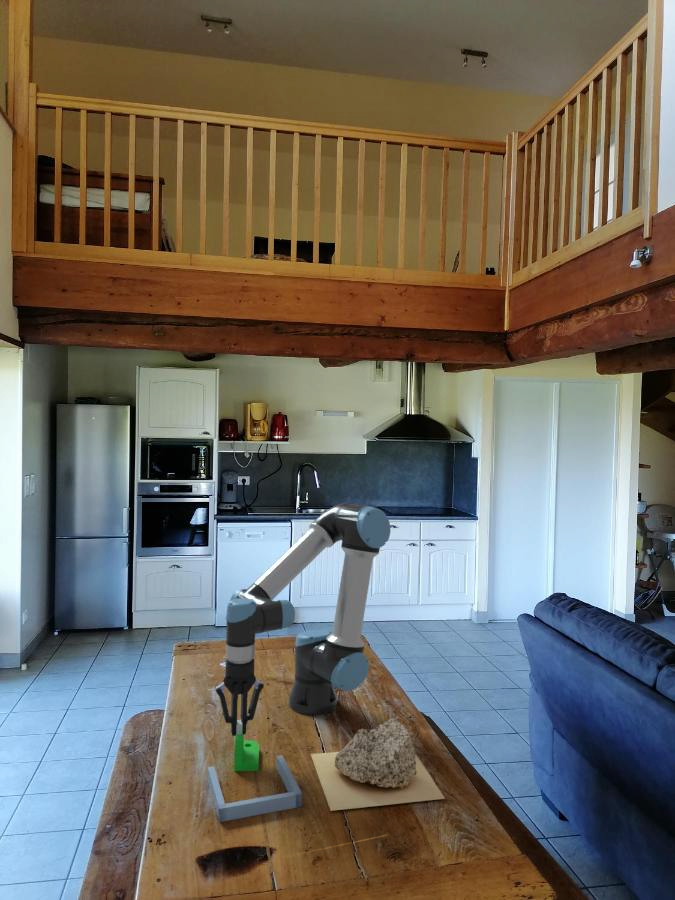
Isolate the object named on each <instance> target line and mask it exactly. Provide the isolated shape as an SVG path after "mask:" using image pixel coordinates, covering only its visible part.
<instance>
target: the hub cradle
mask: <svg viewBox="0 0 675 900" xmlns="http://www.w3.org/2000/svg"><path fill="white" fill-rule="evenodd" d="M275 768H276V769H277V772H278V774H279V776H280V779H281V780H282V782H283V784H284V786H285V788H286V791H287V792H283V793H279V794H278V793H277V794H272V795H267V796H266V795H265V796H260V797H255V798H250V799H244V800H239V801H233V802H228V803H227V802H225V799H224V795H223V792H222V789H221V785H220V783H219V779H218V775H217V772H216V768H215V766H214V765H213V766H208V767H207V781H208V782H207V783H208V785H209V789H210V794H211V796H212V800H213V803H214V808H215V812H216V815H217V818H218V822H219V823H221V822H223V823H224V822H227V821H234V820H238V819H244V818H249V817H253V816H254V817H255V816H260V815H264V814H270V813H275V812H280V811H285V810H292V809H296V808H301V807H303V793H302V790H301V789H300V786H299V785H298V783H297V781H296V780H295V778H294V775H293V772H291V770H290V768H289V766H288V764H287V762H286V760H285V758H284V756H283V755H277V756H276V767H275Z"/></svg>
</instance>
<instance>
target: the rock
mask: <svg viewBox="0 0 675 900" xmlns="http://www.w3.org/2000/svg"><path fill="white" fill-rule="evenodd" d="M310 756H311V758H312V763H313V765H314V767H315V770H316V773H317V776H318V779H319V782H320V784H321V788H322V790H323V794H324V797H325V798H326V801H327V805H328V807H329V810H330V812H332V811H334V812H335V811H340V810H341V811H342V810H344V811H345V810H350V809H351V810H352V809H360V808H368V807H379V806H381V807H382V806H389V805H398V804H406V803H407V804H408V803H414V802H415V803H416V802H419V803H420V802H425V801H426V802H427V801H433V800H434V801H435V800H445V799H446V797H445V796H444V795H443V793H442V791H441V790H440V788H439V787H438V785H436V781H434V780H433V778H432V776H431V775H430V773H429V771H428V770H427V769H426V767H425V766H424V764H423V762H422V761H421V760H420V757H419V756H418V754H417V753H416V748H415V746H414V743H413V740H412V738H411V735H410V733H409V730H408V729H407V727H406V726H405V725H404V724H402V723H400V722H399V721H398V720H397V719H395V718H390V719H388V720H385V721H383V722H382V723H381V724H379V725H377V727H375V728H370V729H369V728H361V729H358V730H357V732H356V733H355V734H354V736H353V738H351V740H350V741H349V742H347V744H346V745H345V746H343V747H342V748H341V749H340V750H339V751H333V752H322V753H310Z"/></svg>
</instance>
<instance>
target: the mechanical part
mask: <svg viewBox="0 0 675 900" xmlns="http://www.w3.org/2000/svg"><path fill="white" fill-rule="evenodd" d="M244 735H245V734H238V735H235V736H234V766H233V768H234V769H233V771H234V772H256V771H259V764H260V763H259V762H260V760H259V759H260V744H259V743H258V742H257V741H255V740H245V739H244V738H245V736H244Z"/></svg>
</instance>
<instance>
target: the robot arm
mask: <svg viewBox="0 0 675 900" xmlns="http://www.w3.org/2000/svg"><path fill="white" fill-rule="evenodd" d="M390 536H391V524H390V520H389V518H388V517H387V515H386V513H385V512H384V511H383V510H381V509H379V508H377V507H373V506H370V505H369V506H368V505H367V506H366V505H360V504H355V503H349V502H344V503H343V502H342V503H338V504H336V505H334V506H332V507H330V508H328V509H327V510H326V511H324V512H322V513H321V514H320V515H318V516H317V517H316V518H315V520H313V521H312V522H311V523H310V524H309V525H308V530H307V532H305V533H304V534H303V535H302V536H301V537H300V538H299V539H298V540H297V541H296V542H295V543H294V544H292V546H291V547H290V548H288V550H287V551H285V552H284V553H283V554H282V556H280V557H279V558H278V559H277V560H276V561H275V562H274V563H273V564H272V565H271V566H270V567H269V568H268V569H266V571H264V572H263V574H261V575H260V576H259V577H258V578H257V579H256V580H255V581H254V582H253V583H252V584H251V585H250V586H248V588H247V589H246V588H241V589H237V590H236V591H234V592H233V593H232V595H231V597H230V599H229V602H228V603H227V608H226V616H225V620H226V632H225V635H226V636H225V638H226V641H225V658H226V659H225V676H224V678H223V680H222V682H221V683H220V684H216V685H215V687H214V689H215V692H216V694H217V695H218V696H219V701H220V705H221V709H222V713H223V718H224V721H225V724H230V733H231V736H232V737H235V735H238V734H244V735H246V734H247V725H248V721H253V719H254V718H255V715H256V709H257V707H258V702H259V698H260V695H261V692H262V690H263V689H264V687H265V685H264V682H263V681H262V680H258V679H257V678H256V675H255V659H254V658H255V654H256V653H255V652H256V649H255V646H256V644H255V643H256V635H257V634H262V633H266V632H272V631H277V630H283V629H286V628H288V627H291V626H292V625H293V624H294V622H295V620H296V611H295V607H294V605H293V603H292V602H291V601H290V600H287V599H279V600H274V599H276V597H277V596H279V595H280V593H282V591H284V589H285V588H286V587H288V585H290V584H291V583H292V581H294V579H296V578H297V577H298V576H299V575H300V574H301V573H302V572H303V571H304V569H306V568H307V566H309V565H310V563H312V562H313V561H314V560H315V559H316V558H317V557H318V556H319V555H320V554H321V553H322V552H323V551H324V550H325V549H326V548H332V547H333V546H334V544H336V543H338V542H340V541H341V549H342V550H343V553H344V559H343V565H342V570H341V577H340V583H339V584H340V585H339V590H338V596H337V602H336V608H335V613H334V621H333V626H332V631H331V630H327V629H326V630H325V629H311V630H305V631H303V632H300V633H298V634H296V635H297V636H296V637H295V645H294V649H295V650H294V657H295V658H294V680H293V681H294V682H293V684H292V688H291V691H290V693H289V696H288V707H289V708H290V710H292V711H294V712H295V713H299V714H302V715H310V716H313V715H315V716H316V715H323V714H324V715H325V714H327V713H330V712H332V711H334V710H335V709H336V707H337V700H338V699H337V694H336V691H335V688H336V689H340V690H341V691H345V692H349V691H354V690H356V689H357V688H359V687H360V686H361V684H363V682H364V681H365V680H366V678H367V677H368V673H369V670H370V661H369V660H368V657H367V656H366V655H365V653H364V649H365V643H364V641H363V639H362V637H361V636H362V631H363V630H362V629H363V624H364V618H365V611H366V606H367V605H366V604H367V598H368V592H369V585H370V580H371V573H372V568H373V567H372V566H373V562H374V558H375V557H376V556H378V555H379V554H380V550H381V548H382V547H384V546H385V545H386V543H387V542H388V541H389V540H390ZM225 688H226V689H227V691H228V692H230V695H231V699H230V700H231V703H230V713H229V710H228V705H227V704H228V703H227V701H226V697H225V694H224V693H225V692H226V689H225ZM252 688H253V691H252V693H251V698H250V702H249V707H248V696H249V695H248V694H249V693H248V692H250V690H251V689H252ZM239 695H240V719H238V700H239V699H238V698H239Z"/></svg>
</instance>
